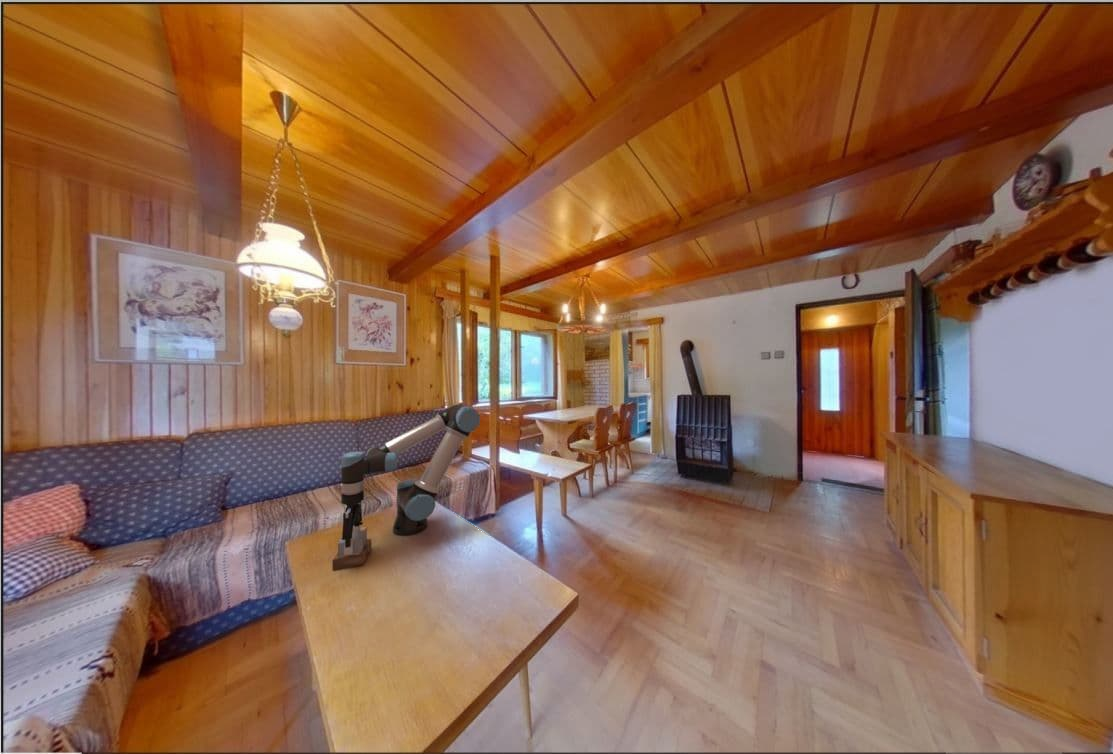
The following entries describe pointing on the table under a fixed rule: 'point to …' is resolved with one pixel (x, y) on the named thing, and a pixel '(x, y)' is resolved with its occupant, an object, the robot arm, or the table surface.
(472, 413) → the robot arm
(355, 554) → the plinth
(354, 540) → the slate block
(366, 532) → the terracotta cube
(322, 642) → the table surface
